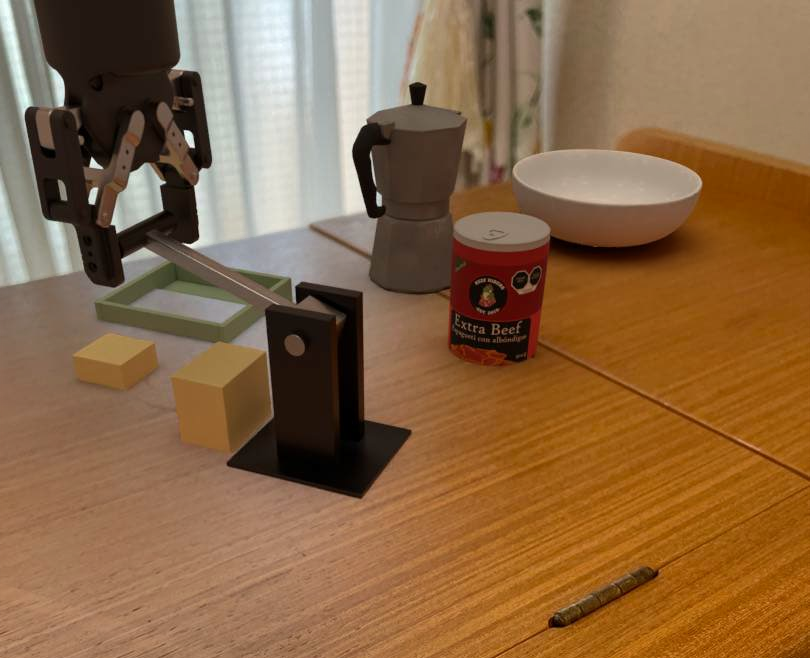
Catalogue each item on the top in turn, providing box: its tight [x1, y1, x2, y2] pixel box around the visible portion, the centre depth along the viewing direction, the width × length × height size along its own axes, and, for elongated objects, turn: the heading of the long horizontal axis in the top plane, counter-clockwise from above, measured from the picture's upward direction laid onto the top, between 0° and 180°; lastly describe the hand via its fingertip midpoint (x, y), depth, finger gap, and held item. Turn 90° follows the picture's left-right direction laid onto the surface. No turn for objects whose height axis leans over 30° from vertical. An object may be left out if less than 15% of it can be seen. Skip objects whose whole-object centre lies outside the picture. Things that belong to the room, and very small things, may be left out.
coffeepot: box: [351, 81, 468, 294], centre depth 83 cm, size 15×9×18 cm, turn 142°
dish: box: [93, 259, 294, 344], centre depth 80 cm, size 13×12×2 cm
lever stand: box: [226, 280, 413, 500], centre depth 58 cm, size 10×9×12 cm
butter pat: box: [72, 332, 160, 391], centre depth 69 cm, size 4×4×3 cm
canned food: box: [447, 211, 551, 367], centre depth 72 cm, size 8×8×11 cm
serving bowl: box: [511, 148, 703, 248], centre depth 99 cm, size 21×21×7 cm
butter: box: [170, 342, 273, 454], centre depth 62 cm, size 4×6×6 cm, turn 158°
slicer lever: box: [116, 210, 347, 345], centre depth 56 cm, size 15×6×2 cm, turn 68°
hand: (147, 261), depth 57 cm, fingers open, 8 cm apart
